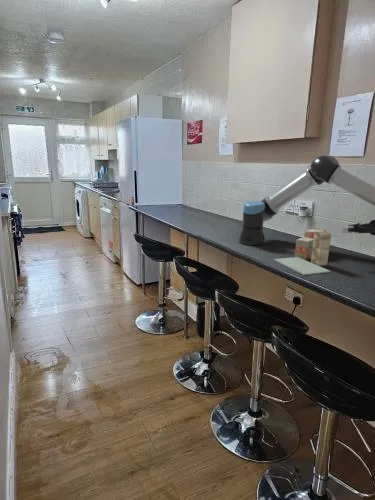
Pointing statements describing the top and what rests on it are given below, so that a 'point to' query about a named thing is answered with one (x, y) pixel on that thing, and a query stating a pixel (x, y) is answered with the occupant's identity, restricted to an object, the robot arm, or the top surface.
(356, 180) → the robot arm
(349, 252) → the top surface
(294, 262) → the sage cutting board
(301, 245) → the stack of blocks
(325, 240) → the maple block
